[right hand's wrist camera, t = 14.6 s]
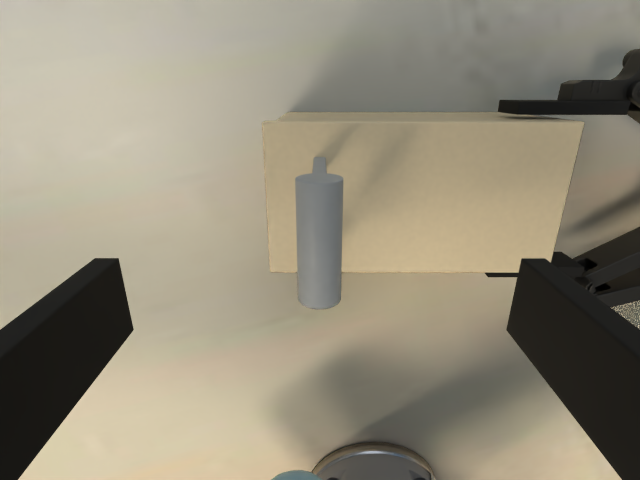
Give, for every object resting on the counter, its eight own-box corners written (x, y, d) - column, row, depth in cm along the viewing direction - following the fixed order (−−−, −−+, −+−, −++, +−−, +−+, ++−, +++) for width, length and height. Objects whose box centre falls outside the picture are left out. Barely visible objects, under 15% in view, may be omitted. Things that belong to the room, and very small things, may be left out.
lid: (271, 267, 26) (250, 342, 18) (263, 120, 22) (234, 137, 15) (542, 267, 26) (634, 342, 18) (576, 120, 22) (708, 137, 15)
